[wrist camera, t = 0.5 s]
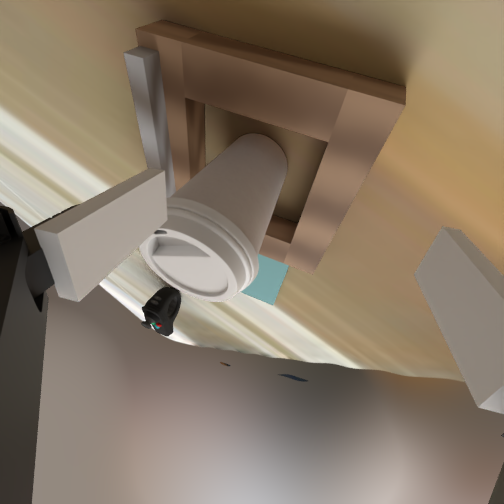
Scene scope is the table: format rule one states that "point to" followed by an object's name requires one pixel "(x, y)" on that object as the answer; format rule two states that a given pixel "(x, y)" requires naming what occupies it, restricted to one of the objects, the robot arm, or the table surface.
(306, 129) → the cup holder
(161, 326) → the controller
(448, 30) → the table surface
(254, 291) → the pad
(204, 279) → the coffee cup
